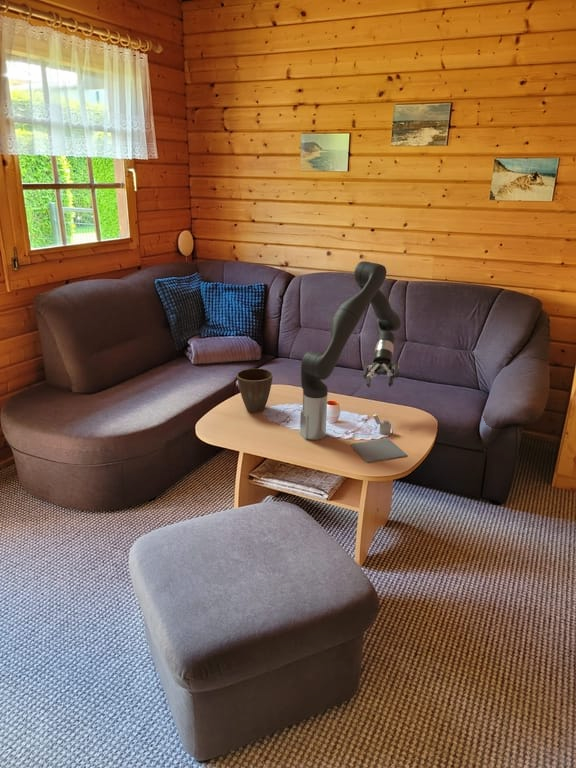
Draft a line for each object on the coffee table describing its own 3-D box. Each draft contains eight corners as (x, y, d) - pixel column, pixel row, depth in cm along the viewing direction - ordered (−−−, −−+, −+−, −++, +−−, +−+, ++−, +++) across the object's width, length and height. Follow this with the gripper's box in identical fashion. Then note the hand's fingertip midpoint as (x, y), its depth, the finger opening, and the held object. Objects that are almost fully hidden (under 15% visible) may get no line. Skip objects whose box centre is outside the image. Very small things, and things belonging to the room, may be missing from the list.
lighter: (389, 432, 218) (391, 413, 215) (390, 434, 217) (392, 415, 214) (371, 431, 219) (373, 412, 216) (371, 433, 217) (373, 414, 214)
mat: (367, 462, 195) (367, 461, 195) (350, 445, 207) (350, 443, 207) (407, 456, 200) (407, 455, 200) (388, 439, 212) (388, 438, 212)
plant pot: (252, 419, 227) (252, 383, 221) (230, 408, 237) (229, 373, 231) (279, 410, 236) (280, 375, 230) (257, 399, 246) (257, 365, 241)
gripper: (364, 348, 229) (359, 380, 221) (399, 347, 224) (395, 379, 215) (368, 360, 235) (363, 391, 226) (402, 358, 229) (398, 390, 221)
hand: (379, 385), depth 221 cm, fingers open, 8 cm apart
